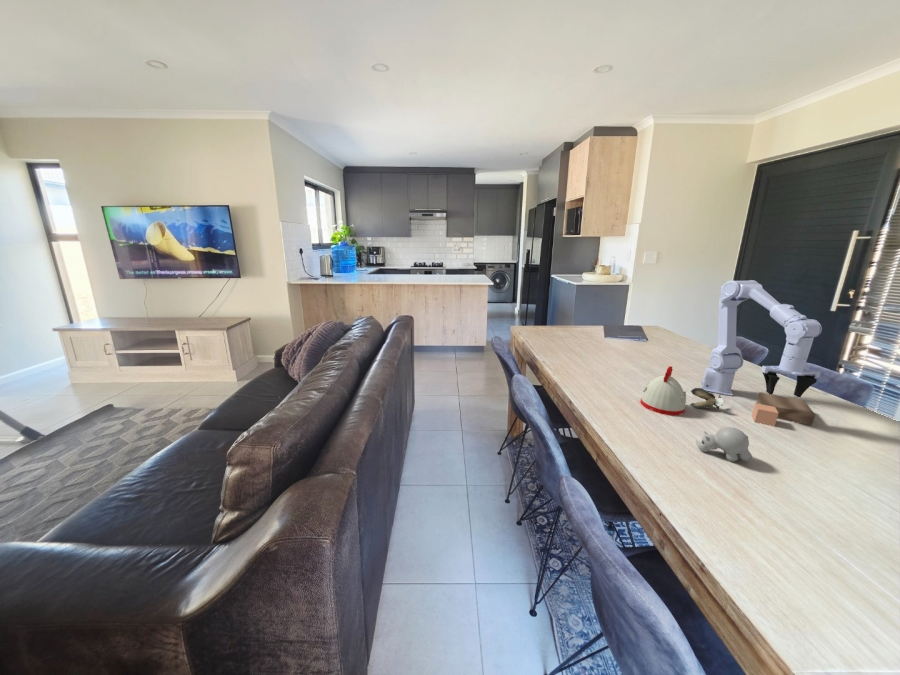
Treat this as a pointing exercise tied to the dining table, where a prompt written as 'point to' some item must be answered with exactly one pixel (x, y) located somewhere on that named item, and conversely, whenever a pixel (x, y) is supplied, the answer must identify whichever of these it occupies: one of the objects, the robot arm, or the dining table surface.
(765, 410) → the terracotta cube
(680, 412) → the chicken-shaped dome
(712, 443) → the round bodied animal figurine
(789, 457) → the dining table surface
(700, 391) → the eagle figurine
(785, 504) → the dining table surface
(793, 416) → the walnut plinth
